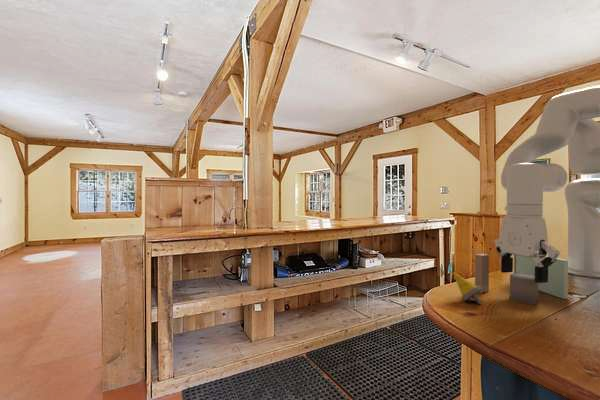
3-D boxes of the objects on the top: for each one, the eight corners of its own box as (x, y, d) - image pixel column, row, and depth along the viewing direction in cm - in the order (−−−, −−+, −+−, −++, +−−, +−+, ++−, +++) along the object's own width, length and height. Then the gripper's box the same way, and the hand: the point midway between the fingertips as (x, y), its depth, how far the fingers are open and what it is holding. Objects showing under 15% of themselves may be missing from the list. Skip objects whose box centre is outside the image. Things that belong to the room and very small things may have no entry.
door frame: (531, 277, 97) (531, 244, 97) (538, 278, 96) (539, 245, 95) (475, 291, 85) (475, 254, 85) (481, 293, 83) (482, 255, 83)
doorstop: (518, 294, 82) (518, 272, 82) (543, 301, 77) (543, 278, 77) (504, 298, 80) (504, 275, 79) (530, 305, 74) (530, 281, 74)
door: (512, 281, 92) (513, 249, 92) (516, 281, 93) (516, 249, 92) (563, 298, 78) (564, 260, 77) (567, 298, 78) (568, 260, 78)
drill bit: (473, 309, 73) (443, 275, 79) (472, 311, 78) (444, 279, 83) (492, 297, 73) (461, 264, 78) (490, 300, 77) (461, 268, 83)
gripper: (485, 209, 85) (484, 269, 86) (544, 213, 68) (543, 288, 69) (507, 209, 87) (506, 268, 87) (571, 213, 70) (570, 286, 70)
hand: (522, 277), depth 78 cm, fingers open, 9 cm apart
